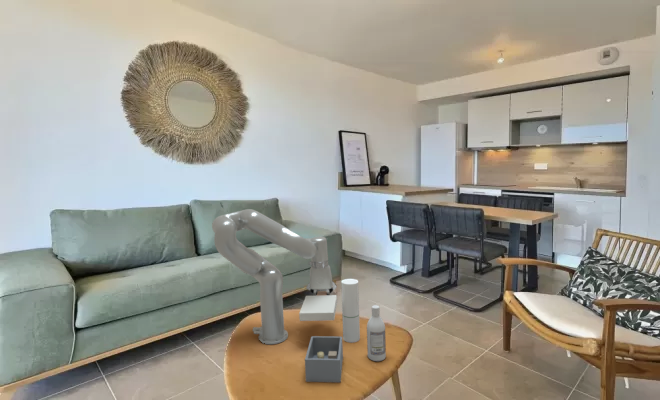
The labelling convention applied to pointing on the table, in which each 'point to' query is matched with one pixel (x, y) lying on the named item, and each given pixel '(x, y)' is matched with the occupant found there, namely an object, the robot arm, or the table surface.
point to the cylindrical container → (350, 310)
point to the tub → (324, 359)
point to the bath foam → (376, 336)
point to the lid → (318, 307)
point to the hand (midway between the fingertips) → (322, 301)
